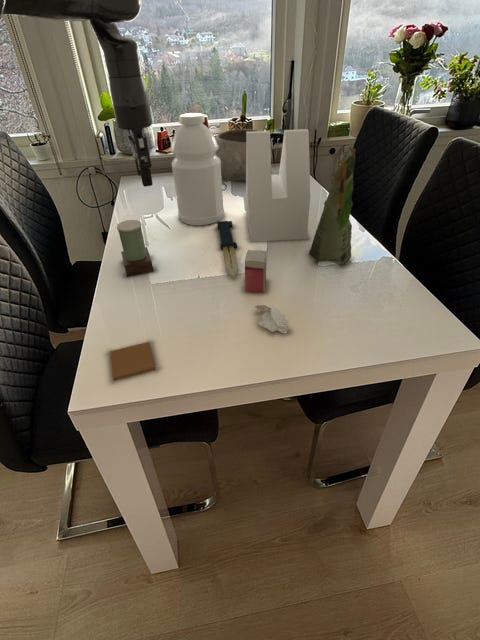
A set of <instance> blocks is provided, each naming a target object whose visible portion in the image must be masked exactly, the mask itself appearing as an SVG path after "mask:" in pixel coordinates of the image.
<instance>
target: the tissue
mask: <svg viewBox="0 0 480 640" xmlns="http://www.w3.org/2000/svg"><path fill="white" fill-rule="evenodd" d="M254 308H256V310H257V313H261V310H265V312H264V313H263V314H261V317H260V318H261V320H260V321H258V322H257V325H259V326H260V327H263V328H264V329H267V330H268V331H269V332H272V333H273V332H276V331H279V333H281V334H287V333H288V331H289V329H288V327H287V325H288V320H287V319H286V316H285V314H284V313H283V312H282V311H281V310H279V309H277V308H276V307H272V306H268V305H266V304H257V305H255V306H254Z"/></svg>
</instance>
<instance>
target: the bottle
mask: <svg viewBox="0 0 480 640" xmlns="http://www.w3.org/2000/svg"><path fill="white" fill-rule="evenodd" d="M178 116H179V117H178V122H179V124H180V126H179V127H178V129H177V130H176V131H175V133H174V135H173V137H172V141H171V145H170V153H172V154H173V155H174V158H173V159H172V161H171V170H172V176H173V181H174V189H175V196H176V203H177V210H178V211H177V213H178V215H177V216H178V219H179V220H180V221H181V222H182V223H183V224H187V225H191V226H206V225H212V224H215V223H217V222H219V221H221V220H222V219H223V217H224V215H225V209H224V198H223V179H222V178H223V177H222V176H221V161H220V158H218V156H217V155H216V151H217V150H218V149H219V146H218V144H217V141H216V139H215V138H216V136H215V134H214V133H213V132H212V131H211V130H210V128H209V127H208V126H206V125H205V124H204V123H205V122H206V120H205V119H206V118H205V115H204V114H203V113H199V112H190V113H189V112H187V113H182V114H180V115H178Z"/></svg>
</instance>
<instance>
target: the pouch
mask: <svg viewBox="0 0 480 640" xmlns="http://www.w3.org/2000/svg"><path fill="white" fill-rule="evenodd" d="M356 151H357V150H356V148H355V147H352V146H350V147H349V148H348V149H347V152H346V153H345V154H344V156H343V157H342V158H341V159H340V160H339V162H338V163H337V165H336V168H335V170H334V172H333V173H332V174H333V175H332V180H331V183H330V187H329V191H328V195H327V197H326V199H325V200H324V202H323V205H324V206H323V210H322V212H321V215H320V218H319V221H318V225H317V227H316V231H315V233H314V235H313V240H312V243H311V247H310V249H309V251H308V255H309V256H310V257H312V258H313V259H314V261H315V264H317V263H324V262H331V263H337V264H340V265H341V266H346V265H347V264H348V263H349V262H350V260H351V258H352V234H353V233H352V228H353V225H352V223H351V220H350V217H351V216H350V215H351V211H352V208H353V206H354V202H353V199H352V196H353V191H354V187H355V186H354V171H355V163H356Z"/></svg>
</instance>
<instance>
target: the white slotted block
mask: <svg viewBox="0 0 480 640" xmlns="http://www.w3.org/2000/svg"><path fill="white" fill-rule="evenodd" d="M283 133H284V134H283V139H282V146H281V154H280V155H281V156H280V162H279V163H280V164H279V170H278V174H272V159H271V147H270V141H271V131H270V130H258V131H252V132H246V181H245V188H246V190H245V191H246V192H245V193H246V195H245V196H246V220H247V226H248V235H249V242H251V243H252V242H274V241H295V240H298V241H299V240H307V239H308V231H309V217H310V206H311V169H310V165H311V164H310V130H309V129H308V128H304V129H303V128H301V129H299V128H298V129H284V131H283Z"/></svg>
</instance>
